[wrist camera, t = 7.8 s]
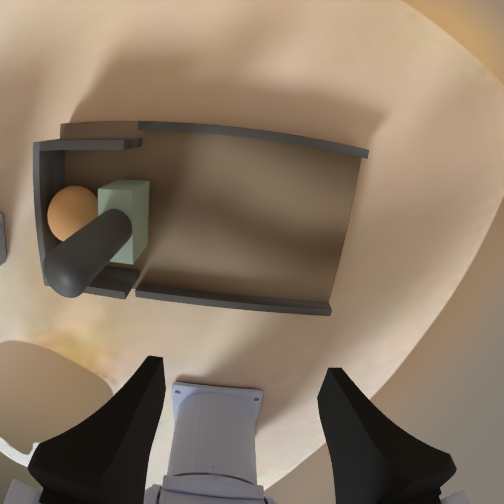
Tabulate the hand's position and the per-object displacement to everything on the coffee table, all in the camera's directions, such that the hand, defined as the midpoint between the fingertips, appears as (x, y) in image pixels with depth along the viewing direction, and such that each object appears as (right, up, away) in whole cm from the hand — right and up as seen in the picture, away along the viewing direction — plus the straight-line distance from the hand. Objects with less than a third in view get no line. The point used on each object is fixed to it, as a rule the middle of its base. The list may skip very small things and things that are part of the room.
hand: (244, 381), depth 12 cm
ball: (-10, +8, +4) cm, 13 cm away
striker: (-7, +8, +5) cm, 12 cm away
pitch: (-3, +8, +7) cm, 11 cm away
